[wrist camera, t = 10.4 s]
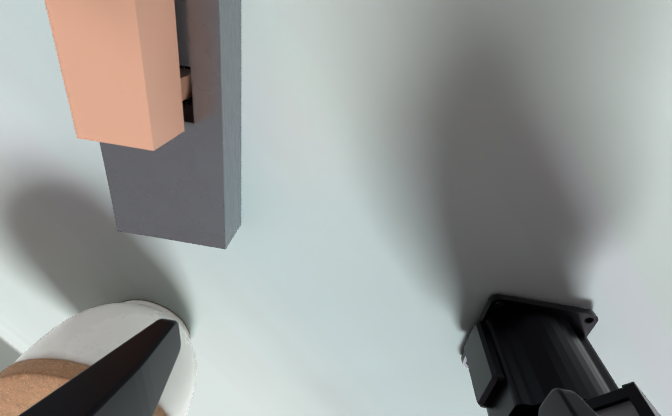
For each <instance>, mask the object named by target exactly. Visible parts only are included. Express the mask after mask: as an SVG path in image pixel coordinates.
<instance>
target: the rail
mask: <svg viewBox="0 0 672 416" xmlns="http://www.w3.org/2000/svg"><path fill="white" fill-rule="evenodd" d="M174 4H175V17H176V29H177V42H178V54H179V65H182V66H188V67H190V69H191V84H192V99H193V105H187V104H182V105H183V117H184V130H185V131H184V132H182V133H181V134H179V135H178V136H176V137H175V138H173V139H171V140H170V141H168V142H167V143H165V144H164V145H162V146H161V147H159V148H158V149H156V150H154V151H152V150H146V149H140V148H134V147H128V146H122V145H116V144H110V143H104V142H100V146H101V151H102V156H103V160H104V165H105V170H106V175H107V180H108V185H109V189H110V194H111V199H112V204H113V209H114V214H115V219H116V223H117V228H118V231H122V232H128V233H134V234H140V235H146V236H152V237H157V238H163V239H169V240H175V241H181V242H187V243H192V244H198V245H204V246H210V247H216V248H222V249H226V248H227V246H228V245H229V243H230V241H231V240H232V238H233V237H234V235H235V233H236V232H237V230H238V229H239V227H240V225H241V0H174Z"/></svg>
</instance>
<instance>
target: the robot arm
mask: <svg viewBox="0 0 672 416" xmlns="http://www.w3.org/2000/svg"><path fill="white" fill-rule="evenodd" d="M497 302H500V303H497ZM597 321H598V317H597V316H596V314H595V313H594V312H593V311H591V310H588V309H582V308H576V307H570V306H564V305H558V304H552V303H547V302H541V301H535V300H529V299H523V298H517V297H512V296H506V295H500V294H496V295H493V296H491V297H490V298H489V300H488V302H487V304H486V306H485V308H484V310H483V312H482V314H481V317H480V319H479V321H477V322H476V323H475V324H474V327H473V329H472V331H471V333H470V335H469V337H468V339H467V341H466V344H465V346H464V353H463V355H462V357H461V360H462V364H463V365H464V366H465V367H468V368H469V372H470V376H471V380H472V384H473V388H474V392H475V396H476V400H477V403H478V404H479V405H480V407H483V408H486V409H487V413H488V416H661V415H660V414H659V413H658V412H657V410H656V409H655V408H654V407H653V405H652V404H651V403H650V401H649V400H648V399H647V398H646V396H645V395H644V394H643V393H642V391H641V390H640V389H639V388H638V386H637V385H636V384H635V383H634V381H633V382H630V383H627V384H625V385H622V387H623V388H620V389H619V388H618V387H617V385H616V383H615V382H614V380H613V379H612V377H611V375H610V374H609V372H608V371H607V369H606V367H605V366H604V364H603V363H602V361H601V360H600V358H599V356H598V355H597V353H596V352H595V350H594V348H593V347H592V345H591V344H590V342H589V341H588V339H587V336H588V334H589V333H590V332H591V330H592V329H593V327H594V326H595V324H596V323H597ZM180 348H181V338H180V330H179V324H178V322H177V321H175V320H170V319H164V318H162V319H158V320H157V321H155V322H154V323H152V324H151V325H149V326H148V327H146V328H145V329H143V330H142V331H141V332H139V333H138V334H136V335H135V336H133V337H132V338H130V339H129V340H127V341H126V342H125V343H123V344H122V345H120V346H119V347H117V348H116V349H114V350H113V351H111V352H110V353H108V354H107V355H106V356H104V357H103V358H101V359H100V360H98V361H97V362H95V363H94V364H92V365H91V366H90V367H88V368H87V369H85V370H84V371H82V372H81V373H79V374H78V375H76V376H75V377H74V378H72V379H71V380H69V381H68V382H66V383H65V384H63V385H62V386H60V387H59V388H58V389H56V390H55V391H53V392H52V393H50V394H49V395H47V396H46V397H44V398H43V399H41V400H40V401H39V402H37V403H36V404H34V405H33V406H31V407H30V408H28V409H27V410H25V411H24V412H23V413H21V414H20V415H18V416H153V414H154V412H155V410H156V407H157V405H158V403H159V400H160V398H161V395H162V393H163V391H164V388H165V386H166V383H167V381H168V379H169V376H170V374H171V371H172V369H173V367H174V364H175V362H176V360H177V357H178V355H179V352H180Z"/></svg>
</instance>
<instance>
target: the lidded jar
mask: <svg viewBox="0 0 672 416" xmlns="http://www.w3.org/2000/svg"><path fill="white" fill-rule="evenodd" d="M162 318H164V319H170V320H175V321H177V322H178V324H179V330H180V338H181V348H180V352H179V355H178V357H177V360H176V362H175V364H174V367H173V369H172V371H171V374H170V376H169V379H168V381H167V383H166V386H165V388H164V391H163V393H162V395H161V398H160V400H159V403H158V405H157V407H156V410H155V412H154V414H153V416H187V413H188V410H189V407H190V404H191V401H192V398H193V394H194V390H195V385H196V376H197V363H196V356H195V352H194V349H193V346H192V343H191V341H190V336H189V332H188V329H187V327H186V326H185V324H184V323H183V322H182V320H181V319H180V318H179V317H178V316H177V315H175V314H174V313H173V312H171V311H170V310H168V309H167V308H165V307H163V306H161V305H158V304H155V303H153V302H149V301H143V300H129V301H125V302H122V303H113V304H104V305H101V306H97V307H94V308H90V309H87V310H85V311H83V312H81V313H78V314H76V315H74V316H72V317H70V318H68V319H67V320H65V321H64V322H62V323H61V324H59V325H57V326H56V327H54V328H53V329H52V330H51V331H49V332H48V333H47V334H45V335H44V336H43V337H42V338H40V339H39V340H38V341H37V342H36V343H34V344H33V345H32V346H31V347H30V348H29V349H28V350H27V351H26V352H24V353H23V354H22V355H21V356H20V357H19V358H18V359H17V360H16V361H15V362H14V363H13V364H12V365H10V366H8V367H7V368H6V369H5V370H3V371H2V372H1V373H0V416H18V415H20V414H21V413H23V412H24V411H25V410H27V409H28V408H30V407H31V406H33V405H34V404H36V403H37V402H39V401H40V400H41V399H43V398H44V397H46V396H47V395H49V394H50V393H52V392H53V391H55V390H56V389H58V388H59V387H60V386H62V385H63V384H65V383H66V382H68V381H69V380H71V379H72V378H74V377H75V376H76V375H78V374H79V373H81V372H82V371H84V370H85V369H87V368H88V367H90V366H91V365H92V364H94V363H95V362H97V361H98V360H100V359H101V358H103V357H104V356H106V355H107V354H108V353H110V352H111V351H113V350H114V349H116V348H117V347H119V346H120V345H122V344H123V343H125V342H126V341H127V340H129V339H130V338H132V337H133V336H135V335H136V334H138V333H139V332H141V331H142V330H143V329H145V328H146V327H148V326H149V325H151V324H152V323H154V322H155V321H157V320H158V319H162Z"/></svg>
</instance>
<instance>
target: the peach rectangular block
mask: <svg viewBox="0 0 672 416" xmlns="http://www.w3.org/2000/svg"><path fill="white" fill-rule="evenodd" d="M45 4H46V8H47V12H48V17H49V21H50V25H51V29H52V34H53V38H54V42H55V46H56V50H57V55H58V59H59V63H60V67H61V72H62V76H63V80H64V84H65V89H66V93H67V97H68V101H69V105H70V110H71V114H72V118H73V122H74V127H75V131H76V135H77V138H80V139H86V140H92V141H98V142H104V143H110V144H116V145H122V146H128V147H134V148H140V149H146V150H152V151H154V150H156V149H158V148H159V147H161V146H162V145H164V144H165V143H167V142H168V141H170V140H171V139H173V138H175V137H176V136H178V135H179V134H181V133H182V132H184V131H185V130H184V117H183V105H182V101H184V100H186V99H188V98H190V97H192V84H191V69H185V68H180V67H179V54H178V42H177V29H176V17H175V4H174V0H45Z"/></svg>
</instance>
